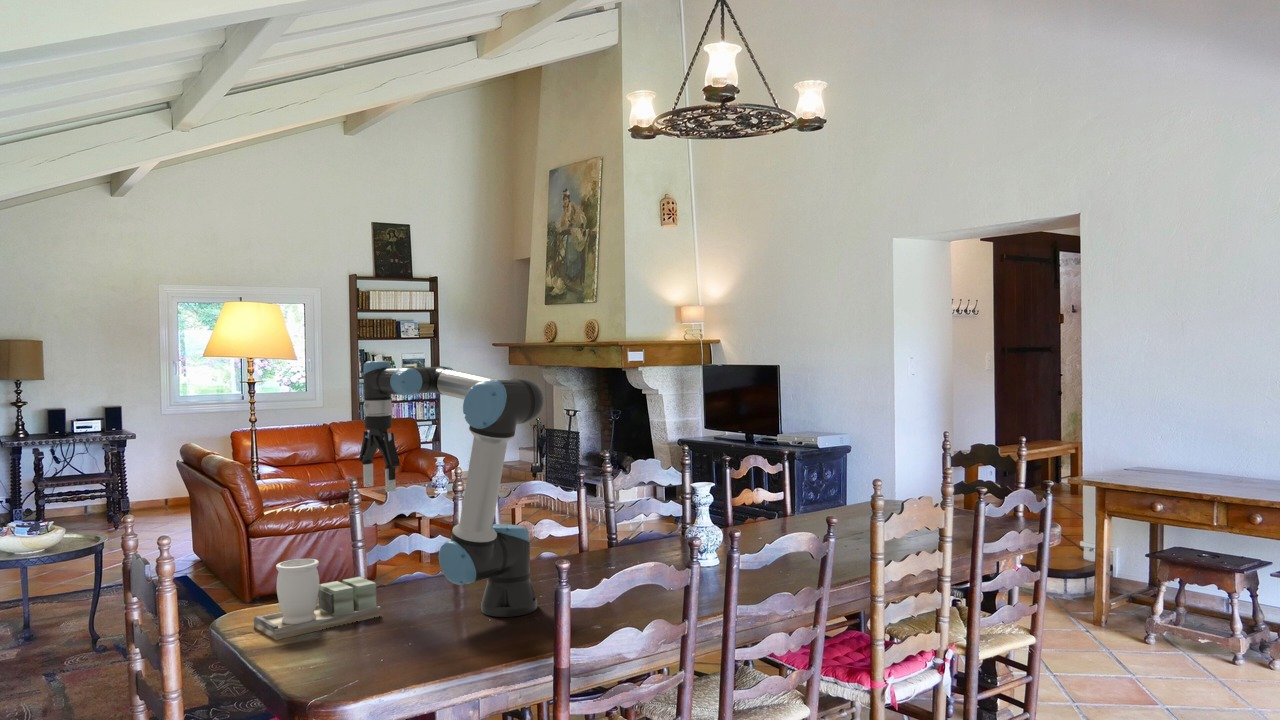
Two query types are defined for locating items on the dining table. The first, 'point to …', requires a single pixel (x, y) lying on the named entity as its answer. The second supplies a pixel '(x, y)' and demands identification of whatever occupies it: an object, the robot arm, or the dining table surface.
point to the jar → (298, 590)
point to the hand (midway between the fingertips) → (379, 489)
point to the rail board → (328, 609)
